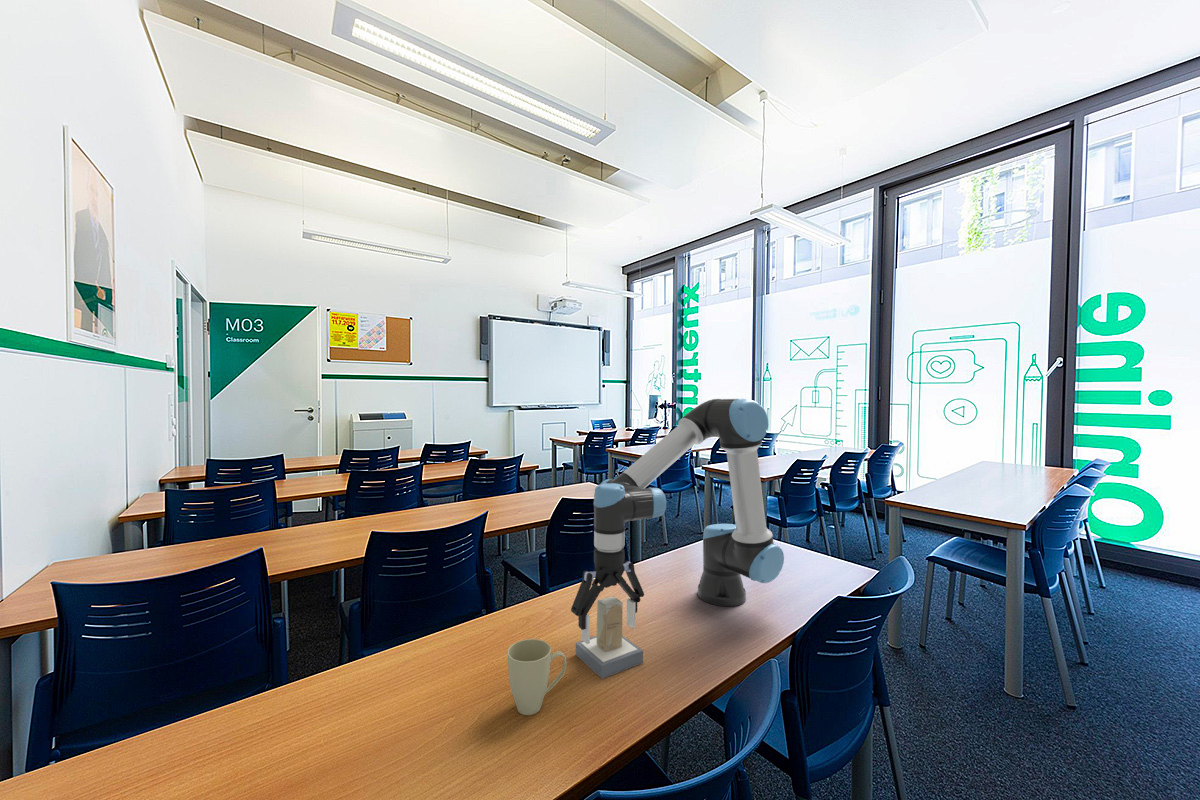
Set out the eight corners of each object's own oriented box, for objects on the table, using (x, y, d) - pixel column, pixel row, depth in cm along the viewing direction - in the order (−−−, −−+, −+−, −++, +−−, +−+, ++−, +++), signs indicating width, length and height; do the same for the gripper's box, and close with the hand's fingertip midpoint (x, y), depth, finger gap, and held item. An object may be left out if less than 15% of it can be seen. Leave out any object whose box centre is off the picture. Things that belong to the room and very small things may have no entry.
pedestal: (614, 641, 124) (614, 629, 124) (643, 662, 114) (643, 649, 113) (575, 654, 117) (575, 642, 117) (601, 678, 107) (601, 665, 107)
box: (604, 652, 112) (604, 606, 112) (595, 644, 116) (596, 599, 116) (623, 646, 115) (623, 601, 115) (614, 638, 119) (614, 595, 119)
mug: (535, 730, 90) (535, 668, 90) (498, 711, 96) (498, 653, 96) (568, 699, 100) (568, 643, 100) (532, 684, 105) (532, 631, 105)
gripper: (639, 535, 125) (639, 614, 125) (557, 552, 111) (556, 641, 112) (658, 543, 119) (657, 626, 119) (572, 561, 105) (572, 655, 105)
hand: (608, 633), depth 115 cm, fingers open, 13 cm apart
